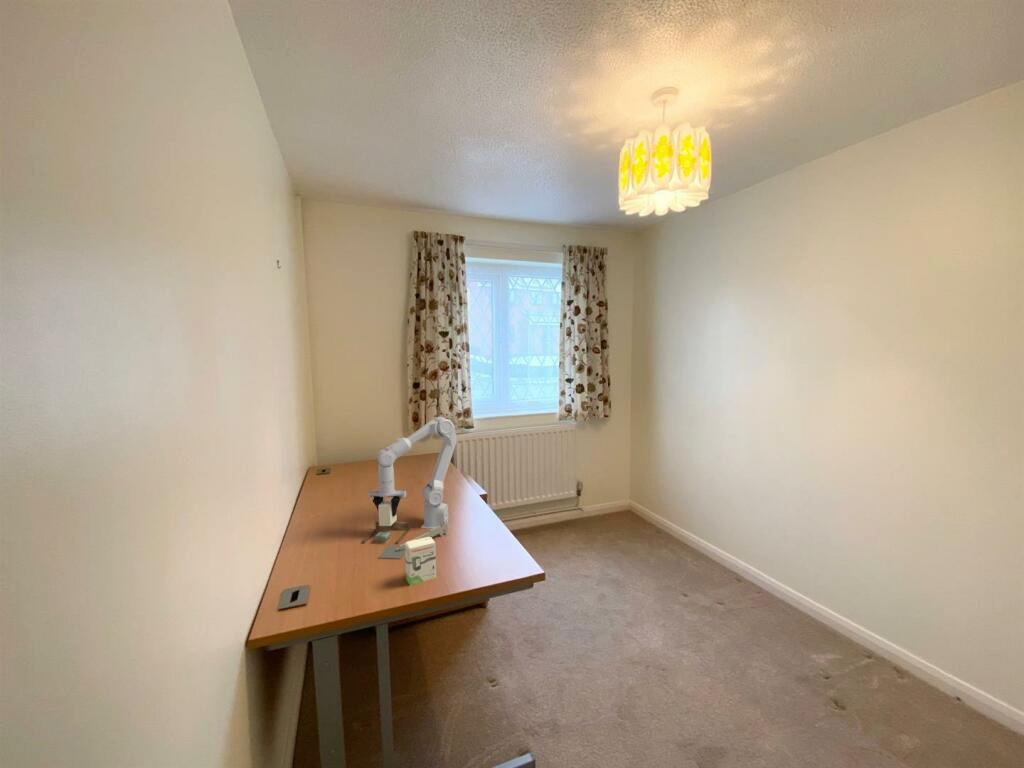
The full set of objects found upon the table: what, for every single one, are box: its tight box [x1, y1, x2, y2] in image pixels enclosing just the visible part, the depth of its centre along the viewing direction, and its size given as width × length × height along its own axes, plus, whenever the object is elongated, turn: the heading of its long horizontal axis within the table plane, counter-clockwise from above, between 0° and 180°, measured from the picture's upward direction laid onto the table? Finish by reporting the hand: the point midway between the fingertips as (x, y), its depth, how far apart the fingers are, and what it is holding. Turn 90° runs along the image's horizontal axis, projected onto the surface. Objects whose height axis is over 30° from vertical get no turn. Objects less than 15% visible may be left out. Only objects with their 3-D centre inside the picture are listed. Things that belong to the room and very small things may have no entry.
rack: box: [361, 521, 411, 545], centre depth 155 cm, size 14×12×4 cm
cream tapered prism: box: [378, 499, 398, 526], centre depth 156 cm, size 4×6×8 cm
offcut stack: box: [374, 531, 391, 545], centre depth 151 cm, size 5×4×4 cm
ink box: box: [404, 536, 437, 586], centre depth 126 cm, size 9×5×12 cm, turn 119°
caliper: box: [396, 521, 449, 550], centre depth 149 cm, size 20×1×6 cm, turn 129°
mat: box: [377, 545, 405, 560], centre depth 142 cm, size 8×9×1 cm
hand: (387, 515), depth 156 cm, fingers closed on cream tapered prism, 5 cm apart
